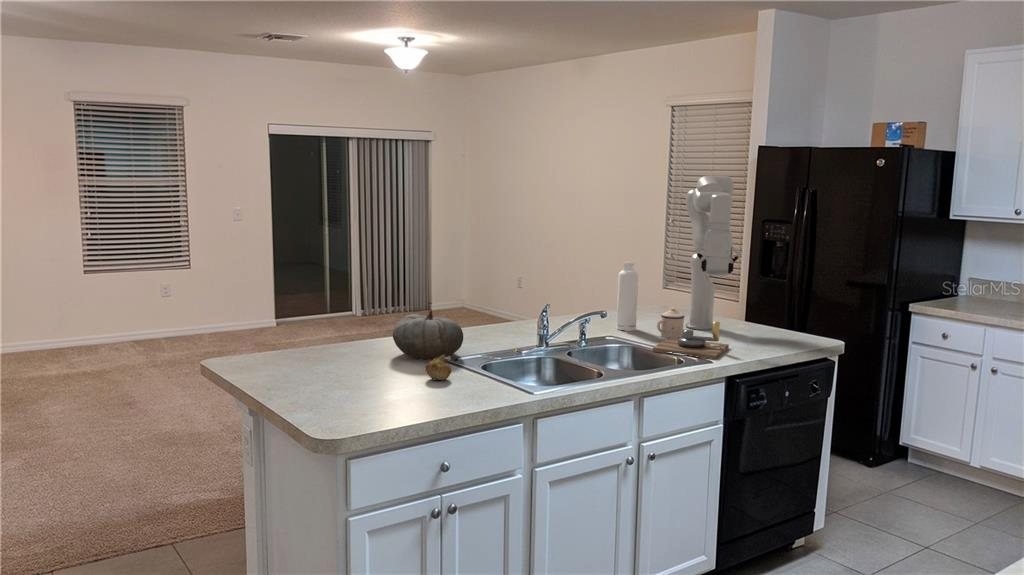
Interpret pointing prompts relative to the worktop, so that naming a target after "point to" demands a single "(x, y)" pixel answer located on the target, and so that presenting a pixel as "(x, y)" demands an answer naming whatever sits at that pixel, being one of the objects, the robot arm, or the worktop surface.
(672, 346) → the level stand
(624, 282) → the bottle
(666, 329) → the teacup with lid
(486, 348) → the worktop surface
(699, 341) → the capstan
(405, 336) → the gourd
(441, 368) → the onion
